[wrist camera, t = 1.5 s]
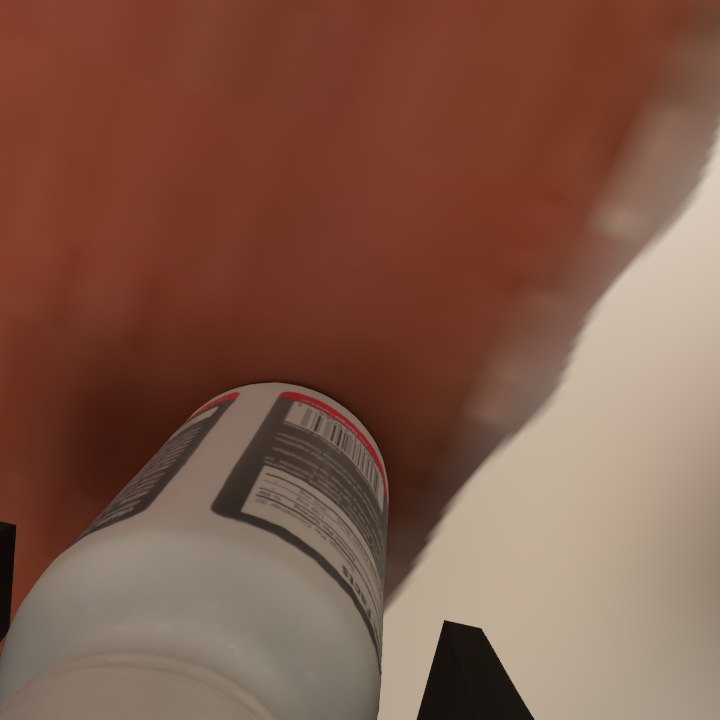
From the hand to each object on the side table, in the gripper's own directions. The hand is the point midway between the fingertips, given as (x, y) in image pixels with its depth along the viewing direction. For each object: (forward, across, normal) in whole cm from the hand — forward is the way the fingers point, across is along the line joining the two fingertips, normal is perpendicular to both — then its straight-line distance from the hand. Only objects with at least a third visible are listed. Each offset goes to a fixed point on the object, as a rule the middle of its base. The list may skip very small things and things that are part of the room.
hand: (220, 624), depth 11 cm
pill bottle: (+6, 0, 0) cm, 6 cm away
